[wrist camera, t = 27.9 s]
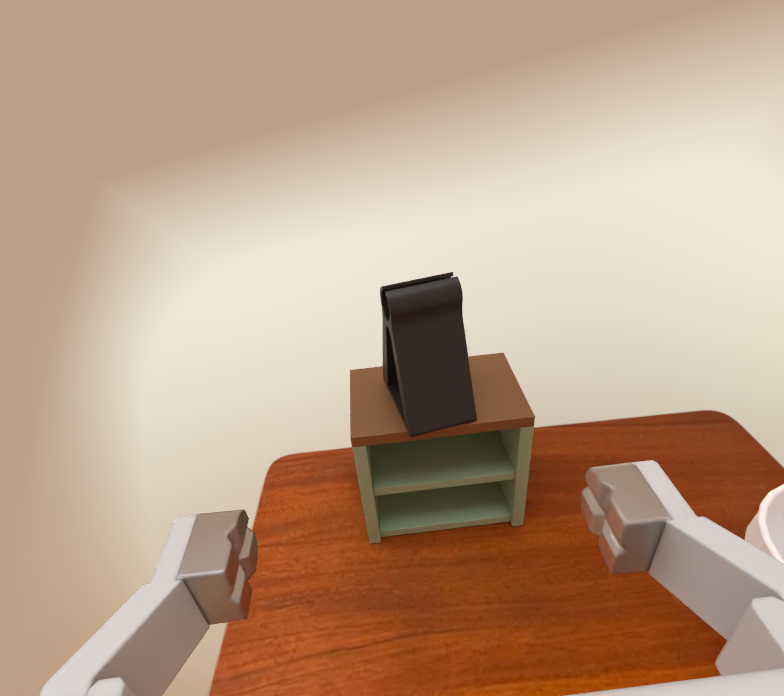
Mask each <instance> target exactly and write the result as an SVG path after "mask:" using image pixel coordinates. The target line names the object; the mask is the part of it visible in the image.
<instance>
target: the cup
mask: <svg viewBox="0 0 784 696" xmlns="http://www.w3.org/2000/svg"><path fill="white" fill-rule="evenodd" d="M745 541H746V542H748V543H750V544H752V545H753V546H755V547H757V548H758V549H760V550H762V551H763V552H765V553H767V554H769V555H770V556H772V557H774V558H775V559H777V560H779V561H780V562H782V563H784V484H783V485H781V486H779V487H777V488H775V489H774V490H772V491H770V492H769V493H768V494H767V495H766V497H765V498H764V500H763V501H762V502H761V504H760V507H759V511H758V513H757V514H756V515H755V517H754V518H753V520H752V521H751V523H750V524H749V525H748V527H747V529H746V535H745Z"/></svg>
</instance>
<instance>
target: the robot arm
mask: <svg viewBox="0 0 784 696" xmlns="http://www.w3.org/2000/svg"><path fill="white" fill-rule="evenodd" d="M585 481H586V482H587V484H588V486H587V487H586V488H585V489H584V490H583V491H582V495H581V509H582V514H583V517H584V520H585V523H586V525H587V527H588V529H589V531H590V532H591V533H593V534H594V535H596V536H597V537H598V538H600V541H599V545H598V550H599V552H600V554H601V556H602V558H603V560H604V562H605V564H606V566H607V568H608V570H609V572H610V574H622V573H633V572H643V571H648V573H649V574H650V575H651V576H652V577H653V578H654V579H656V580H657V581H658V582H659V583H660V584H661V585H663V586H664V587H665V588H666V589H667V590H668V591H670V592H671V593H672V594H673V595H674V596H675V597H677V598H678V599H679V600H680V601H681V602H683V603H684V604H685V605H686V606H687V607H688V608H690V609H691V610H692V611H693V612H694V613H695V614H697V615H698V616H699V617H700V618H701V619H702V620H704V621H705V622H706V623H707V624H708V625H710V626H711V627H712V628H713V629H714V630H715V631H717V632H718V633H719V634H720V635H721V636H722V637H724V638H725V639H726V640H727V642H726V644H725V645H724V647H723V649H722V650H721V652H720V654H719V655H718V657H717V659H716V662H715V665H716V667H717V669H718V671H719V672H720V674H721V676H716V677H708V678H700V679H692V680H684V681H676V682H668V683H660V684H652V685H644V686H636V687H629V688H621V689H613V690H605V691H597V692H589V693H581V694H573V695H565V696H784V563H782V562H780V561H779V560H777V559H775V558H774V557H772V556H770V555H769V554H767V553H765V552H763V551H762V550H760V549H758V548H757V547H755V546H753V545H752V544H750V543H748V542H746V541H745V540H743V539H741V538H740V537H738V536H736V535H735V534H733V533H731V532H730V531H728V530H726V529H724V528H723V527H721V526H719V525H718V524H716V523H714V522H713V521H711V520H709V519H707V518H706V517H697V516H696V514H695V513H694V512H693V510H692V509H691V508H690V506H689V505H688V504H687V502H686V501H685V500H684V498H683V497H682V495H681V494H680V493H679V491H678V490H677V489H676V487H675V486H674V485H673V483H672V482H671V481H670V479H669V478H668V477H667V475H666V474H665V473H664V471H663V470H662V469H661V467H660V466H659V464H658V463H656V462H655V461H653V460H650V461H642V462H633V463H622V464H614V465H607V466H599V467H592V468H589V469H588V470H587V471H586V475H585ZM248 519H249V518H248V516H247V514H246V512H245V510H235V511H225V512H214V513H203V514H194V515H184V516H178V517H177V518H176V519H175V521H174V522H173V523H172V526H171V529H170V532H169V534H168V537H167V540H166V542H165V545H164V548H163V551H162V553H161V556H160V559H159V562H158V564H157V567H156V570H155V572H154V575H153V578H152V581H151V583H148V584H144V585H143V586H142V587H141V588H140V589H139V590H138V591H137V592H136V593H135V594H134V595H133V596H132V597H131V598H130V599H129V600H128V601H127V602H126V603H125V604H124V605H123V606H122V607H121V608H120V609H119V610H118V611H117V612H116V613H115V614H114V615H113V616H112V617H111V618H110V619H109V620H108V621H107V622H106V623H105V624H104V625H103V626H102V627H101V628H100V629H99V630H98V631H97V632H96V633H95V634H94V635H93V636H92V637H91V638H90V639H89V640H88V641H87V642H86V643H85V644H84V645H83V646H82V647H81V648H80V649H79V650H78V651H77V652H76V653H75V654H74V655H73V656H72V657H71V658H70V659H69V660H68V661H67V662H66V663H65V664H64V665H63V666H62V667H61V668H60V669H59V671H57V672H56V673H55V674H54V675H53V676H52V677H51V678H50V679H49V681H47V682H46V684H45V685H44V687H43V689H42V691H41V693H40V695H39V696H162V695H163V694H164V692H165V691H166V689H167V688H168V686H169V685H170V683H171V682H172V681H173V679H174V678H175V676H176V675H177V673H178V672H179V671H180V669H181V668H182V666H183V665H184V663H185V662H186V660H187V659H188V658H189V656H190V655H191V653H192V652H193V650H194V649H195V647H196V646H197V645H198V643H199V642H200V640H201V639H202V638H203V636H204V635H205V633H206V632H207V630H208V629H209V625H211V624H218V623H225V622H232V621H238V620H245V619H247V616H248V611H249V605H250V600H251V594H252V589H251V586H250V584H249V582H248V580H249V579H250V578H251V576H252V575H253V574H254V573H255V571H256V565H257V541H256V536H255V534H254V531H253V530H251V529H250V528H248V527H247V524H248Z"/></svg>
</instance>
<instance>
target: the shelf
mask: <svg viewBox="0 0 784 696" xmlns="http://www.w3.org/2000/svg"><path fill="white" fill-rule="evenodd" d="M468 359H469V366H470V373H471V380H472V387H473V394H474V401H475V408H476V415H477V420H475V421H471V422H468V423H464V424H460V425H456V426H453V427H449V428H445V429H442V430H438V431H434V432H431V433H427V434H423V435H420V436H416V437H412V438H410V436H409V433H408V431H407V429H406V427H405V425H404V423H403V421H402V418H401V416H400V414H399V412H398V410H397V407H396V406H395V403H394V401H393V399H392V397H391V395H390V393H389V391H388V388H387V386H386V384H385V382H384V379H383V366H382V367H374V368H365V369H357V370H350V421H351V423H350V425H351V443H352V449H353V454H354V460H355V465H356V471H357V476H358V482H359V487H360V493H361V498H362V504H363V509H364V515H365V521H366V526H367V532H368V537H369V543H370V544H371V543H379V542H381V537H386V536H394V535H402V534H411V533H419V532H427V531H436V530H444V529H452V528H460V527H469V526H477V525H485V524H494V523H502V522H511V525H512V526H520V525H523V522H524V513H525V504H526V494H527V485H528V476H529V467H530V458H531V448H532V439H533V430H534V419H535V416H534V414H533V412H532V410H531V408H530V406H529V404H528V402H527V400H526V398H525V396H524V394H523V392H522V390H521V388H520V386H519V384H518V382H517V379H516V377H515V376H514V373H513V371H512V369H511V367H510V365H509V364H508V361H507V359H506V357H505V355H504V353H498V354H488V355H479V356H470V357H468Z"/></svg>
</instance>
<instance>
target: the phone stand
mask: <svg viewBox="0 0 784 696" xmlns="http://www.w3.org/2000/svg"><path fill="white" fill-rule="evenodd" d="M451 276H453V272H451V273H446V274H441V275H436V276H431V277H426V278H421V279H416V280H412V281H407V282H402V283H397V284H392V285H387V286H383V287H381V289H380V296H381V304H382V312H383V379H384V382H385V384H386V386H387V388H388V391H389V393H390V395H391V397H392V399H393V401H394V403H395V406H396V407H397V410H398V412H399V414H400V416H401V418H402V421H403V423H404V425H405V427H406V429H407V431H408V433H409V436H410V438H412V437H416V436H420V435H423V434H427V433H431V432H434V431H438V430H442V429H445V428H449V427H453V426H456V425H460V424H464V423H468V422H471V421H475V420H477V415H476V408H475V401H474V394H473V387H472V380H471V373H470V366H469V359H468V353H467V346H466V339H465V331H464V324H463V317H462V299H463V297H462V289H461V285H460V282H459V279H458V277H453V278H451Z"/></svg>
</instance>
